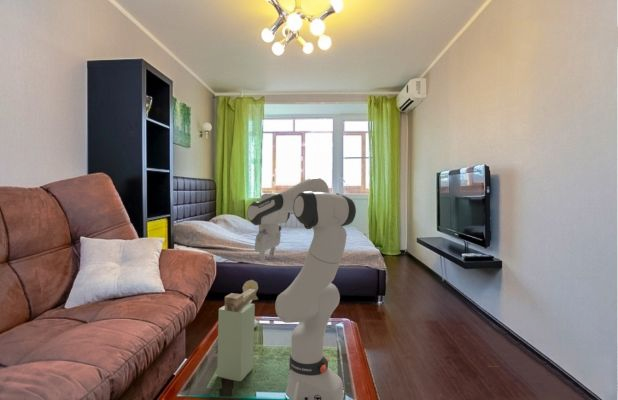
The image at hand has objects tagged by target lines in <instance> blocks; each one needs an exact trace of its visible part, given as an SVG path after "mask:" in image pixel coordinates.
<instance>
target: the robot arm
mask: <svg viewBox="0 0 618 400" xmlns="http://www.w3.org/2000/svg"><path fill="white" fill-rule="evenodd" d="M246 213H247V219H248V221H249V222H250V223H251V224H253V225H254V226H258V232H257V235H256V236H255V240H254V251H255V252H257V253H258V254H259V257H260V261H266V258H267V257H266V254H265V253H266V251H268V250H270V251H269V257H273V256H274V255H275V251H276V247H277V246H279V245H280V242H281V231H282V229H283V228H282V225H281V224H286V223H287V222H288V221H289V219H290V218H291V217H290V216H291V213H293V215H294V217H295V218H296V220H297V221H298V222H299V223H300V224H302V225H303V226H304V228H305V229H306V230H310V229H312V230H313V237H312V241H311V243H310V246H309V248H308V252H307V254H306V257H305V260H304V263H303V266H302V268H301V269H300V271H299V273H298V274H297V276H295V278H294V280H293V281H292V282H291V283H290V285H289V286H287V288H286V289H285V290H283V291H282V292H280V294H278V295H277V296H276V300H275V303H274V305H275V306H274V307H275V308H274V309H275V314H276V315H277V317H278V318H279V320H280V321H281V322H283V323H285V324H286V323H288V324H289V323H290V324H291V323H298V325H297V326H296V327H295V328H294V329H293V332H292V334H291V345H290V346H291V347H290V348H291V349H290V354H289V360H288V366H289V367H288V368H289V376H288V382H287V385H286V386H287V387H286V390H285V392H286V395H287V396H288V397H289V398H290V399H291V400H343V398H344V390H343V389H344V384H343V380H342V378H341V377H340V376H339V375H338V374H337V373H335V372H334V371H333V369H331V368H330V367H329V359H330V358H329V357H327V358H326V357H325V356H324V353H323V352H324V338H325V333H326V330H327V327H328V323H329V321H330V318H331V316H332V315H333V313H334V311H335V310H336V308H337V307H338V306H339V304H340V302H341V301H340V299H341V296H340V292H339V288H338V287H337V286H336V285H335V284H334V283H332V282H333V281H334V279H335V277H336V274H337V273H338V270H339V266H340V264H341V261H342V259H343V256H344V252H345V248H346V242H347V235H348V234H347V231H346V229H345V227H344V226H349V225H351V224H352V223H353V222H354V219H355V217H356V213H357V208H356V205H355V202H354V201H353V199H351V198H350V197H347V196H345V195H343V194H340V193H338V192H337V193H331V192H330V190H329V186H328V184H327V182H326V181H325V180H324V179H322V178H321V177H310V178H307V179H305V180H303V181H300V182H298V183H297V184H295V185H293V186H292V187H289V188H288V189H286V190H284V191H281V192H280V193H274V192H271V193H269V192H268V193H264V194H262V195H261V197H260V200H259V201H253V202H251V203H250V204H249V206H248V208H247V211H246Z"/></svg>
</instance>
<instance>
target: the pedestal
mask: <svg viewBox="0 0 618 400" xmlns="http://www.w3.org/2000/svg"><path fill="white" fill-rule="evenodd" d="M255 305H256V304H255V303H252V302H251V303H246V304H245V305H243V308H242V309H240V310H239V311H237V312H233V311H227V310H225V305H223V306H221V307H219V308H218V319H217V320H218V323H217V325H218V326H217V331H218V332H217V362H216V363H217V365H216V367H217V370H216V371H217V374H216V375H217V377H218V378H222V379H226V380H231V381H235V382H239V381H241V382H242V381H243V380H244V379H245V378H246V377H247V375H248V374H250V373H251V371H252V370H253V369H254V354H255V353H254V351H255V349H254V348H255V347H254V345H255V328H254V319H255V316H256V315H255V314H256V313H255V312H256V311H255V310H256V309H255V308H256V306H255Z"/></svg>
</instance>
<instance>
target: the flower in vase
mask: <svg viewBox="0 0 618 400" xmlns="http://www.w3.org/2000/svg"><path fill="white" fill-rule="evenodd" d="M249 289H255V290H256V292H258V289H259V285H258V282H257V281H255V280H253V279H250V280H247V281H245V283H243V286H242V291H243V292H242V293H244V292H245V291H247V290H249ZM257 300H259V298H258V296H257V295H256V297H255V298H253V299H252V300H250V301H249V302H247V303H251V304H252V302H253V301H257ZM258 324H259V323H258V320H257V319H256V318H254V329H256V328H257V326H258Z"/></svg>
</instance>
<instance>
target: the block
mask: <svg viewBox="0 0 618 400" xmlns="http://www.w3.org/2000/svg"><path fill="white" fill-rule="evenodd" d="M256 296H257V291H256V290H255V289H249V290H247V291H245V292H244V293H243V292H242V293H233V292H231V293H229V294H227V295H226V296H224V306H225V310H227V311H233V312H237V311H239V310H240V309H242V308H243V305H245V304H246V303H247V302H249V301H250V300H252V301H253V298H255V297H256Z"/></svg>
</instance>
